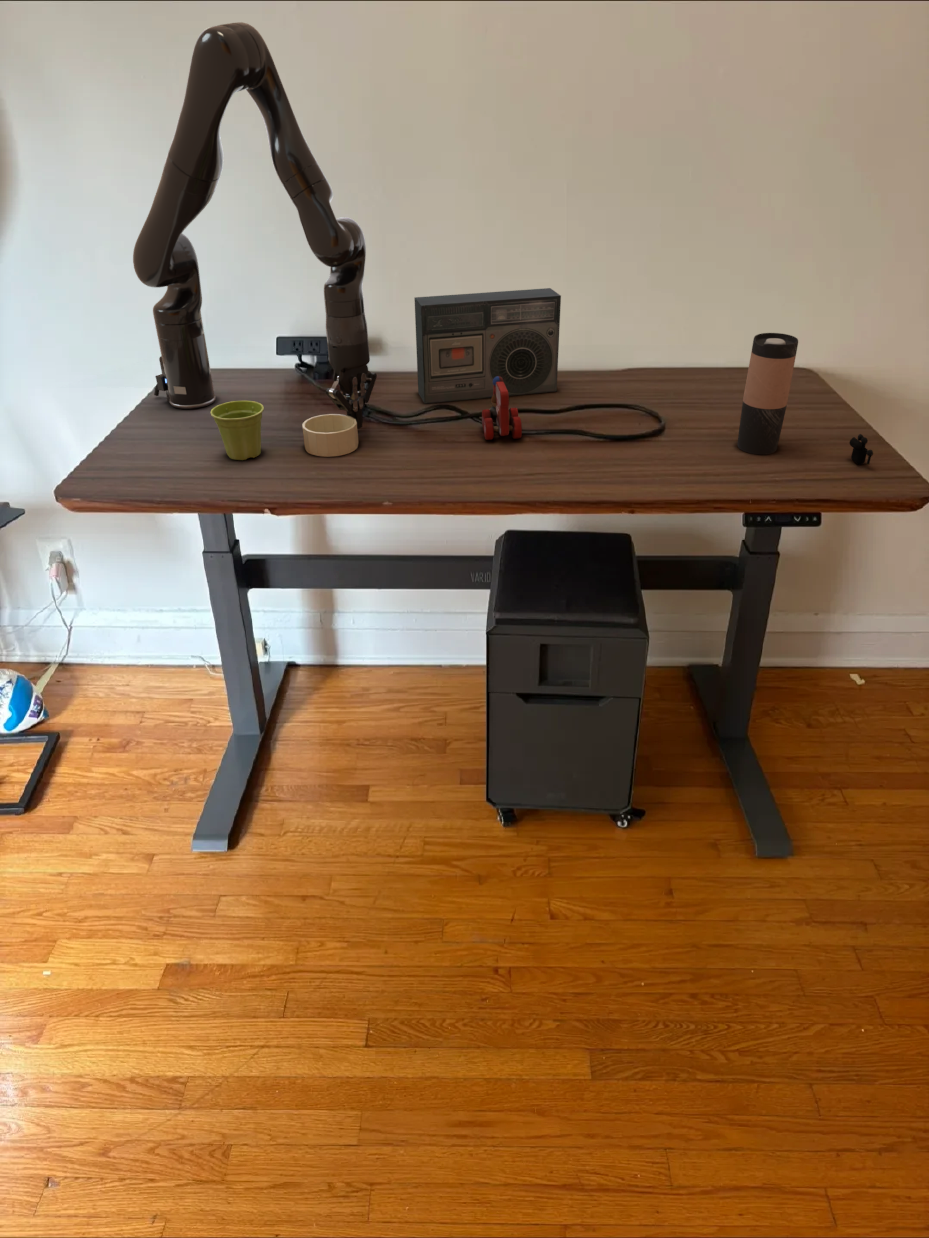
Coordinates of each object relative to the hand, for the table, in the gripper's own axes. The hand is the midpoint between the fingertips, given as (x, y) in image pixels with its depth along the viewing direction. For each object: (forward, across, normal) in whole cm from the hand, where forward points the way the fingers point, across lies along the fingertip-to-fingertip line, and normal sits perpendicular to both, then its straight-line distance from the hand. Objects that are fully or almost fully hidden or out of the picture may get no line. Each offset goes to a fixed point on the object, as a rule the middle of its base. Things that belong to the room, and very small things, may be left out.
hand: (355, 428), depth 174 cm
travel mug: (+2, -33, +68) cm, 76 cm away
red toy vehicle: (+2, -15, +24) cm, 28 cm away
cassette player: (+2, -34, +9) cm, 35 cm away
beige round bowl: (+1, +7, 0) cm, 7 cm away
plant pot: (+1, +19, -11) cm, 22 cm away
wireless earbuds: (+2, -35, +85) cm, 92 cm away
